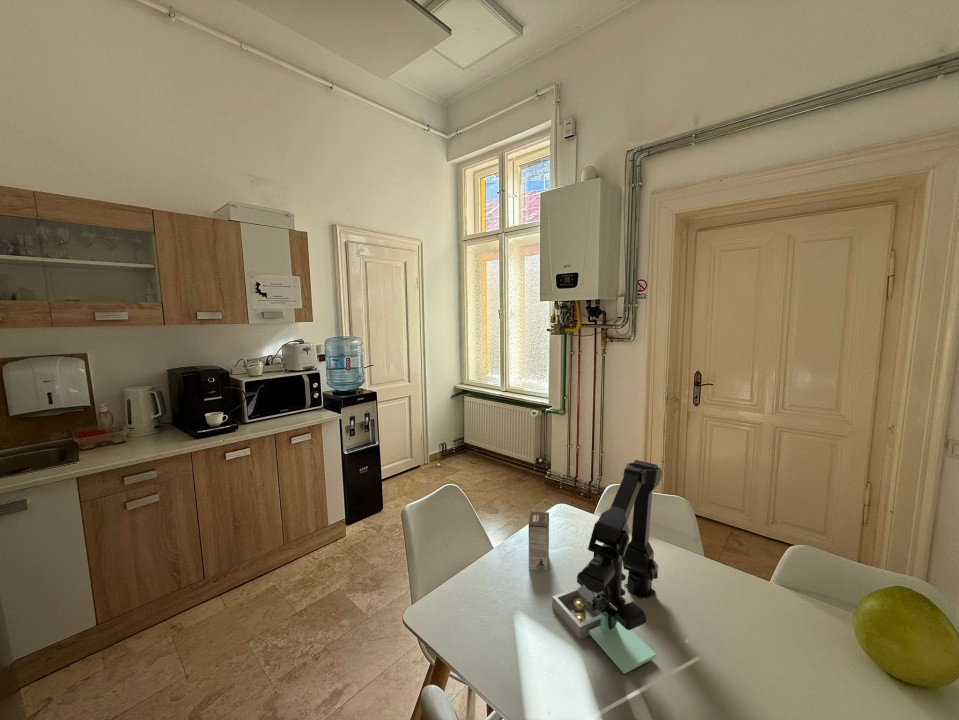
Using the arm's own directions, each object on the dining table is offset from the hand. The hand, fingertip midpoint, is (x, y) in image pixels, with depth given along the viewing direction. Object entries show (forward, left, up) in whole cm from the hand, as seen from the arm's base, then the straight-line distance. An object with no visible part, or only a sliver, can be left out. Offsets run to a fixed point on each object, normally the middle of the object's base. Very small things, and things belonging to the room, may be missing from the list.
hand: (608, 626), depth 100 cm
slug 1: (+1, -11, -3) cm, 11 cm away
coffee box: (-1, -33, -4) cm, 34 cm away
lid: (0, +4, -2) cm, 5 cm away
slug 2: (+4, -6, -3) cm, 8 cm away
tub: (+2, -8, -4) cm, 9 cm away
